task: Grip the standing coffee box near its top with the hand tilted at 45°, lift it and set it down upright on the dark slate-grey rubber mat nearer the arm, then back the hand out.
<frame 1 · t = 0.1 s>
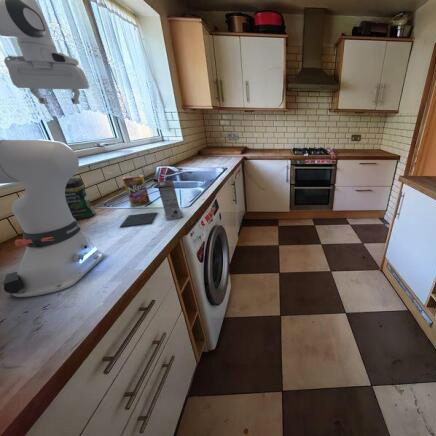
hand: (60, 103, 81), 48 cm above the table, tool pointing down, fingers open, 8 cm apart
dark green food bag: (83, 216, 108), on the table
mat: (140, 220, 105), on the table
candy box: (141, 204, 122), on the table
coffee box: (173, 215, 109), on the table
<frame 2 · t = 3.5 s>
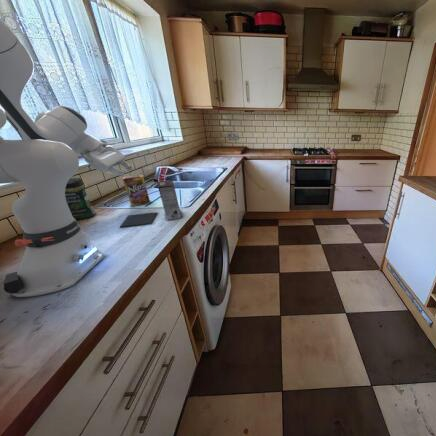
hand: (127, 171, 96), 22 cm above the table, tool tilted 45°, fingers open, 8 cm apart
nothing on the table moved.
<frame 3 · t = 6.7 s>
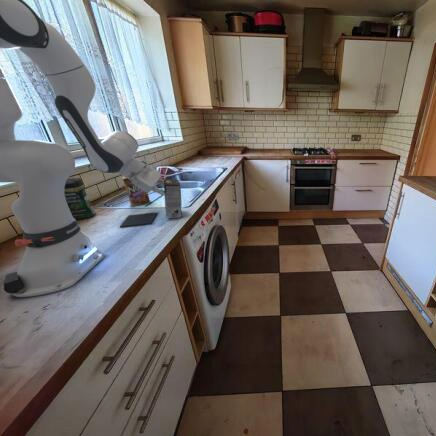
hand: (165, 190, 104), 13 cm above the table, tool tilted 45°, fingers open, 8 cm apart
coffee box: (173, 214, 109), on the table, touching gripper
everything else where it was.
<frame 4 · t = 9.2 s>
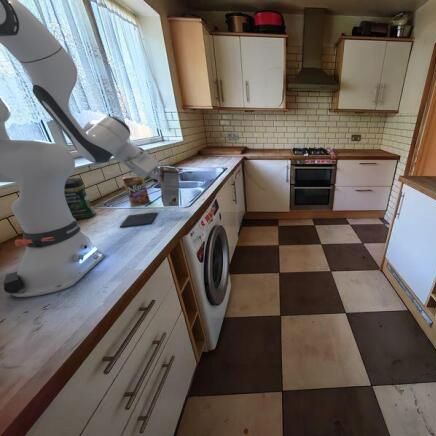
hand: (162, 177, 101), 19 cm above the table, tool tilted 45°, fingers closed on coffee box, 6 cm apart
coffee box: (170, 203, 105), point 7 cm above the table, touching gripper
everything else where it was.
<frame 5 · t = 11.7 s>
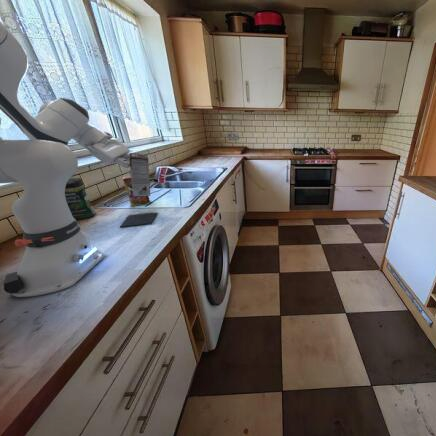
hand: (132, 164, 95), 25 cm above the table, tool tilted 45°, fingers closed on coffee box, 6 cm apart
coffee box: (141, 193, 99), point 13 cm above the table, touching gripper
everything else where it was.
when the fingers open (13 cm above the table, at t = 16.0 s): coffee box stays where it is, resting on mat.
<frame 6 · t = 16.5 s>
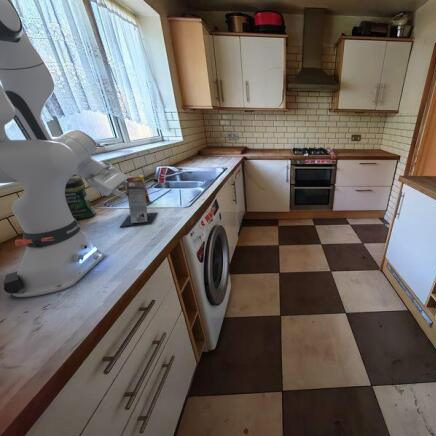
hand: (130, 192, 99), 13 cm above the table, tool tilted 45°, fingers open, 8 cm apart
coffee box: (139, 219, 103), point 1 cm above the table, touching gripper, mat
everything else where it was.
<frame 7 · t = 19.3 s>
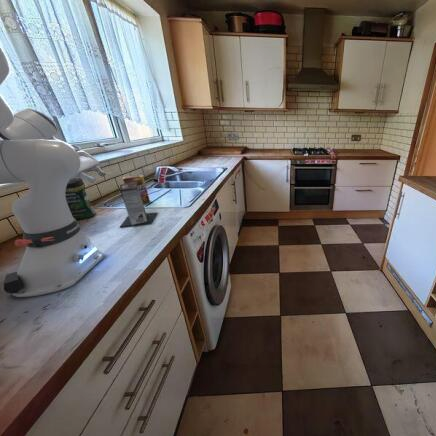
hand: (99, 178, 93), 21 cm above the table, tool tilted 45°, fingers open, 8 cm apart
coffee box: (139, 220, 104), resting on mat
everything else where it was.
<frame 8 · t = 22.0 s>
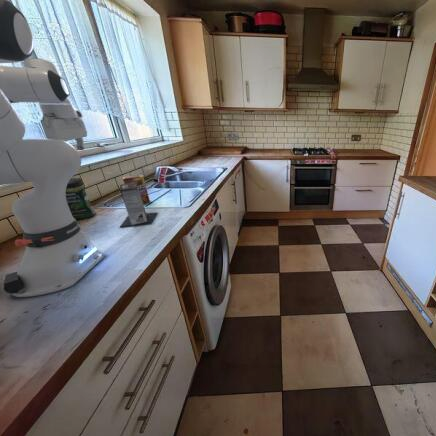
hand: (75, 151, 89), 31 cm above the table, tool pointing down, fingers open, 8 cm apart
nothing on the table moved.
at the end: coffee box inside the target area on the mat (1.1 cm from its centre), point 0.4 cm above the mat's base; coffee box tilted 0°; the gripper is holding nothing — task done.
